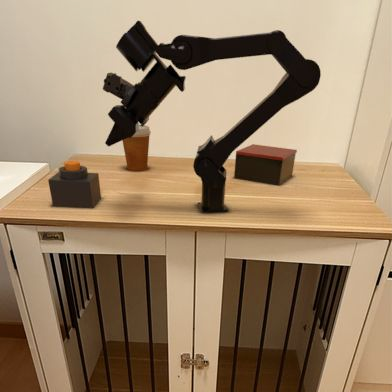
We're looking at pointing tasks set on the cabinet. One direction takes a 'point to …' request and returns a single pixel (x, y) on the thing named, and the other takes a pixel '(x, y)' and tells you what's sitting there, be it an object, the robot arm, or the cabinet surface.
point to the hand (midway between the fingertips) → (107, 144)
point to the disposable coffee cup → (137, 149)
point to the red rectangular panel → (266, 152)
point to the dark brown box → (263, 169)
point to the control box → (75, 188)
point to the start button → (72, 165)
